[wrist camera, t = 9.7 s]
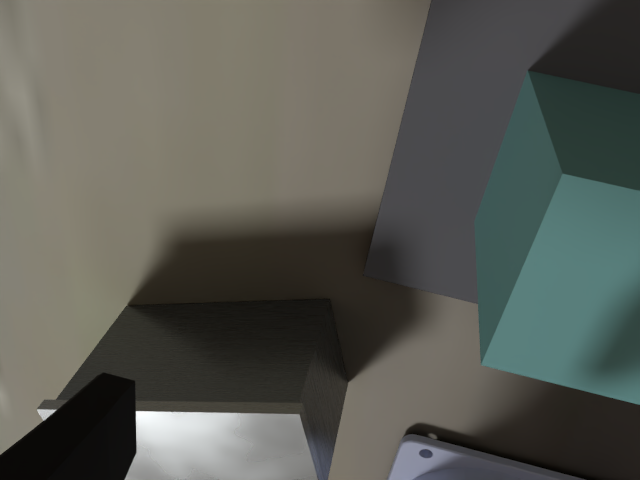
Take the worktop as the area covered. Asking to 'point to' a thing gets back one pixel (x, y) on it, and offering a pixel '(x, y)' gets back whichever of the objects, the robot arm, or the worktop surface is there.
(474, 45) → the mat
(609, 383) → the teal block
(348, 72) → the worktop surface
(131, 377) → the control box
